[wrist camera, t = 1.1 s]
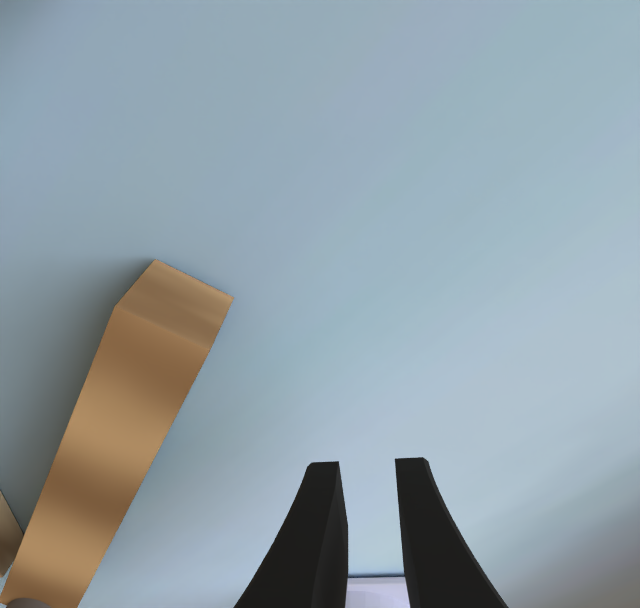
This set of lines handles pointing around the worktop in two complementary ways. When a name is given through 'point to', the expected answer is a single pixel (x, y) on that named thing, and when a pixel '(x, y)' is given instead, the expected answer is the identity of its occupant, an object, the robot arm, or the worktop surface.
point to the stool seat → (8, 536)
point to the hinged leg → (115, 432)
